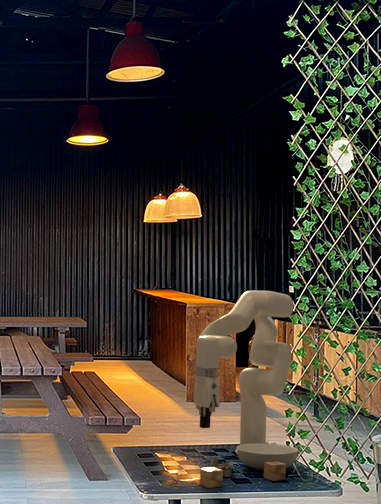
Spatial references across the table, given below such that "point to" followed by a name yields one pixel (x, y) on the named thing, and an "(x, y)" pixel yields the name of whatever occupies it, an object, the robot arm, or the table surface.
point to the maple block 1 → (211, 477)
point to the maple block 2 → (275, 470)
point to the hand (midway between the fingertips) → (204, 427)
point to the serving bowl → (266, 454)
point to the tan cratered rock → (222, 467)
